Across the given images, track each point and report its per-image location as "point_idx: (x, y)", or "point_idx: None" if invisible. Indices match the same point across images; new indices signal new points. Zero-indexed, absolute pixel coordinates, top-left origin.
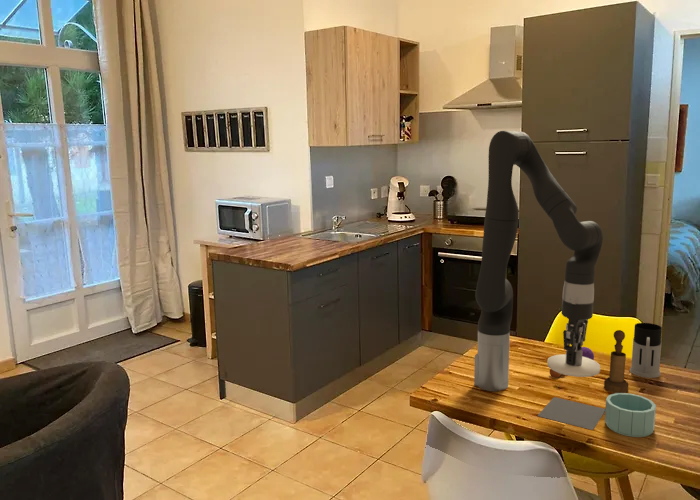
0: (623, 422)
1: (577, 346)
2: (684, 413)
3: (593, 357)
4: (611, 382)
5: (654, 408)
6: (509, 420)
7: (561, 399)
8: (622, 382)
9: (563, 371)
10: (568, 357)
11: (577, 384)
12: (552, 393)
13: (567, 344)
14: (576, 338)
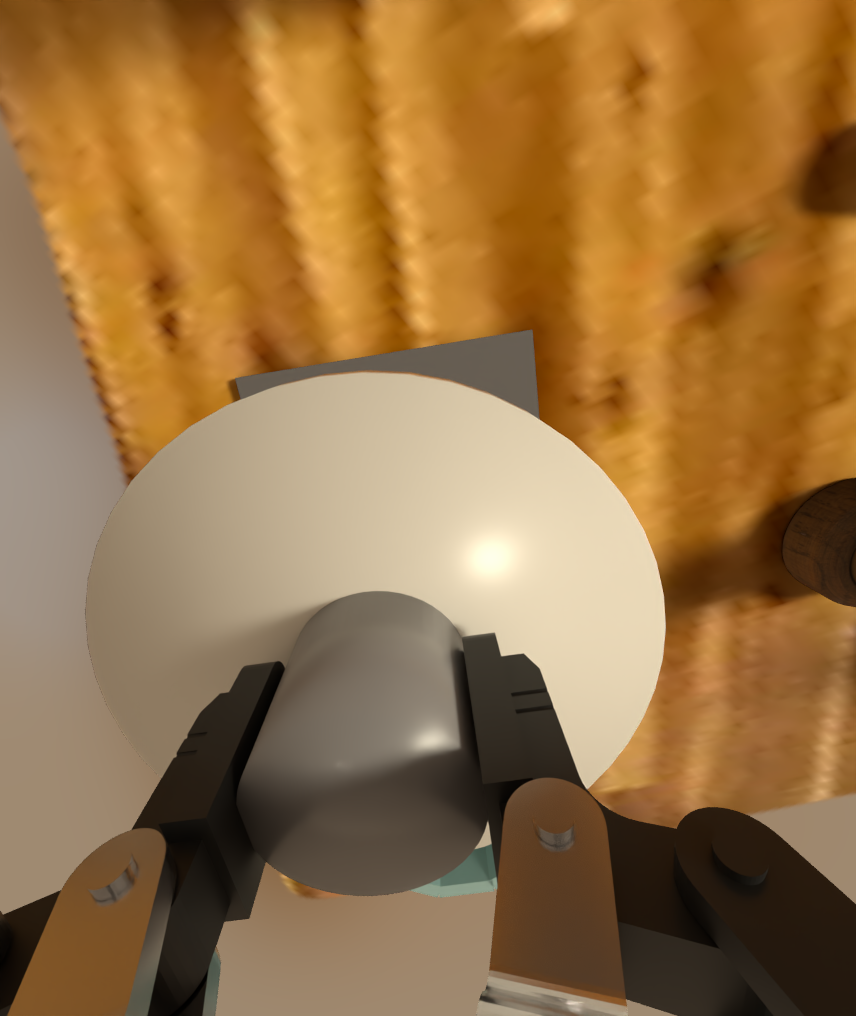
0: None
1: (493, 847)
2: (713, 797)
3: None
4: (844, 548)
5: (456, 895)
6: (84, 271)
7: (524, 381)
8: None
9: (104, 676)
10: (182, 765)
11: (820, 344)
12: (599, 285)
13: (28, 1001)
14: (645, 936)
